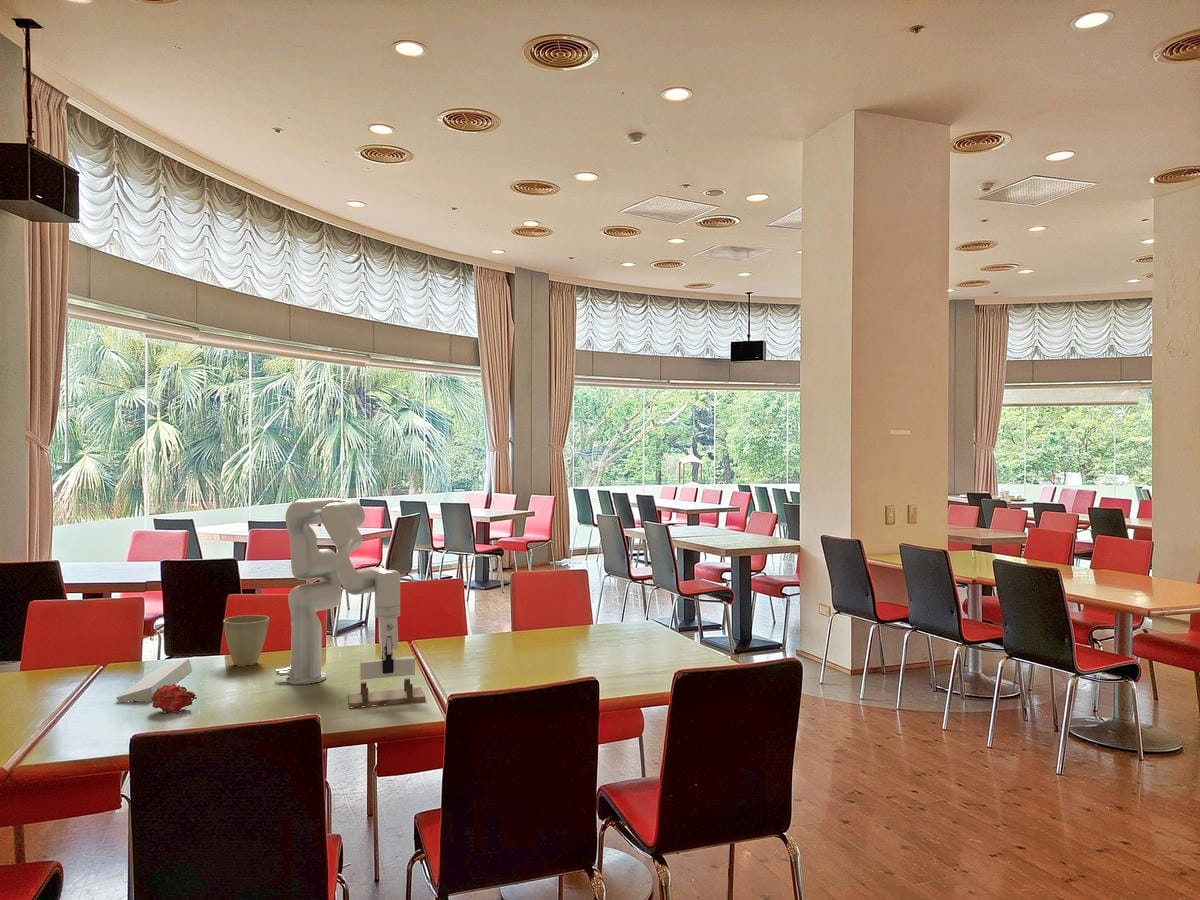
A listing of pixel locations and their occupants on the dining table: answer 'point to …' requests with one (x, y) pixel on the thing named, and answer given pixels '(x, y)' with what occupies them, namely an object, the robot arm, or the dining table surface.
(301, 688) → the dining table surface
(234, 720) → the dining table surface
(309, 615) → the robot arm
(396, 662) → the clay strip
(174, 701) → the dragon fruit
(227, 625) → the plant pot
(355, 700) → the plank with four pegs
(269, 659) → the dining table surface
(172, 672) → the white wedge ramp
